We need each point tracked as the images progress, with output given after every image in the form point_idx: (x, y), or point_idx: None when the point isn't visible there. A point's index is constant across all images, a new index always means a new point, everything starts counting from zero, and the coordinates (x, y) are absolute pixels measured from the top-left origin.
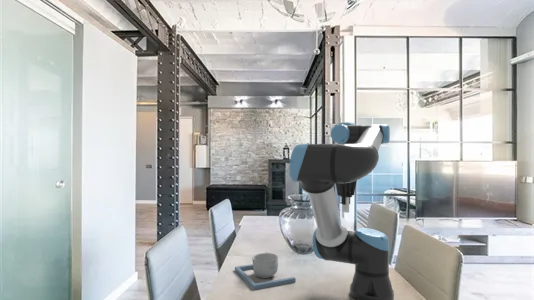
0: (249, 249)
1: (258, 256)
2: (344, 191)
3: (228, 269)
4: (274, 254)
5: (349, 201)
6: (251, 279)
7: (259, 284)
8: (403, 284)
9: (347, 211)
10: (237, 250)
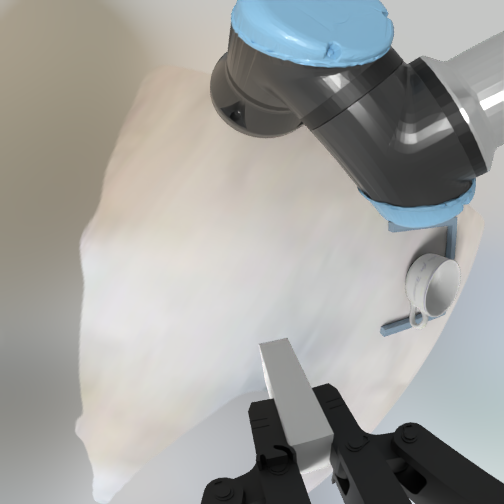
0: (366, 414)
1: (439, 310)
2: (396, 478)
3: (445, 317)
4: (425, 301)
5: (260, 422)
6: (451, 246)
7: (450, 219)
8: (133, 120)
9: (279, 344)
10: (386, 408)
